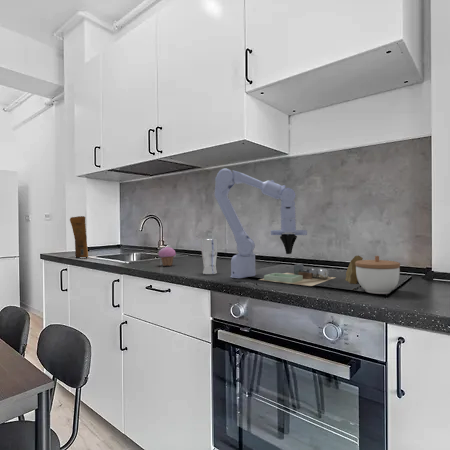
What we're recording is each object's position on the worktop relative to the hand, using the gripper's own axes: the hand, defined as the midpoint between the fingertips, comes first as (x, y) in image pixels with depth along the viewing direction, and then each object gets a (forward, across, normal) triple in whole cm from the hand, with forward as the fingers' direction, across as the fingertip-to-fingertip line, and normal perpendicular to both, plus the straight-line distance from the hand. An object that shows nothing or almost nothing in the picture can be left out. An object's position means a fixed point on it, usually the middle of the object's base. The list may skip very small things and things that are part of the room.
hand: (288, 253), depth 131 cm
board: (+10, +6, -5) cm, 12 cm away
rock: (+10, +24, -1) cm, 26 cm away
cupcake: (+9, -70, +3) cm, 71 cm away
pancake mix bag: (+9, -155, +6) cm, 156 cm away
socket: (+10, +8, -1) cm, 13 cm away
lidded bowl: (+10, +34, -10) cm, 36 cm away
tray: (+10, +2, -10) cm, 14 cm away
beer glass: (+10, -35, -6) cm, 37 cm away
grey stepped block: (+8, +6, -1) cm, 10 cm away
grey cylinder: (+8, +12, -1) cm, 14 cm away
